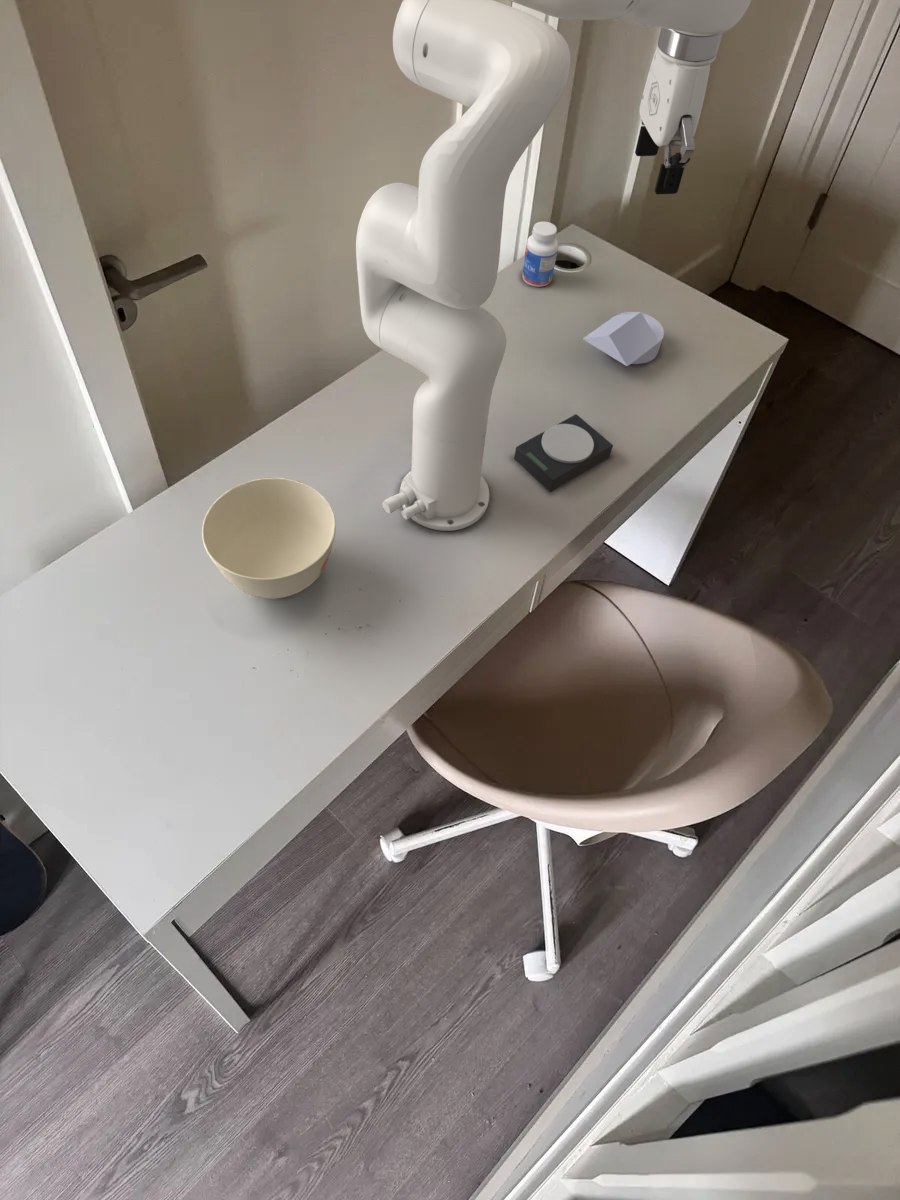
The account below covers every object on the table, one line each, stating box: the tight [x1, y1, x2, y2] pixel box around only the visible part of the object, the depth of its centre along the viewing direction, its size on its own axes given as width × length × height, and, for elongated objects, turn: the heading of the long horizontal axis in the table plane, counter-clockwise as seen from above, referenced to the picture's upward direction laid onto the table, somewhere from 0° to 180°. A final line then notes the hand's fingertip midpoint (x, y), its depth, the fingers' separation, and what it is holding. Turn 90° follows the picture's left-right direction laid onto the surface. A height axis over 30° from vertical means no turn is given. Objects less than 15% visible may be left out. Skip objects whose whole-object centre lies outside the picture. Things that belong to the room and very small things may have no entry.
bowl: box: [201, 477, 337, 599], centre depth 108 cm, size 16×16×10 cm
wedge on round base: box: [582, 311, 665, 367], centre depth 139 cm, size 9×7×13 cm
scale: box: [513, 413, 614, 493], centre depth 126 cm, size 12×8×3 cm, turn 128°
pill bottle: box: [521, 221, 559, 288], centre depth 148 cm, size 6×5×10 cm
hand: (655, 173), depth 121 cm, fingers open, 9 cm apart
